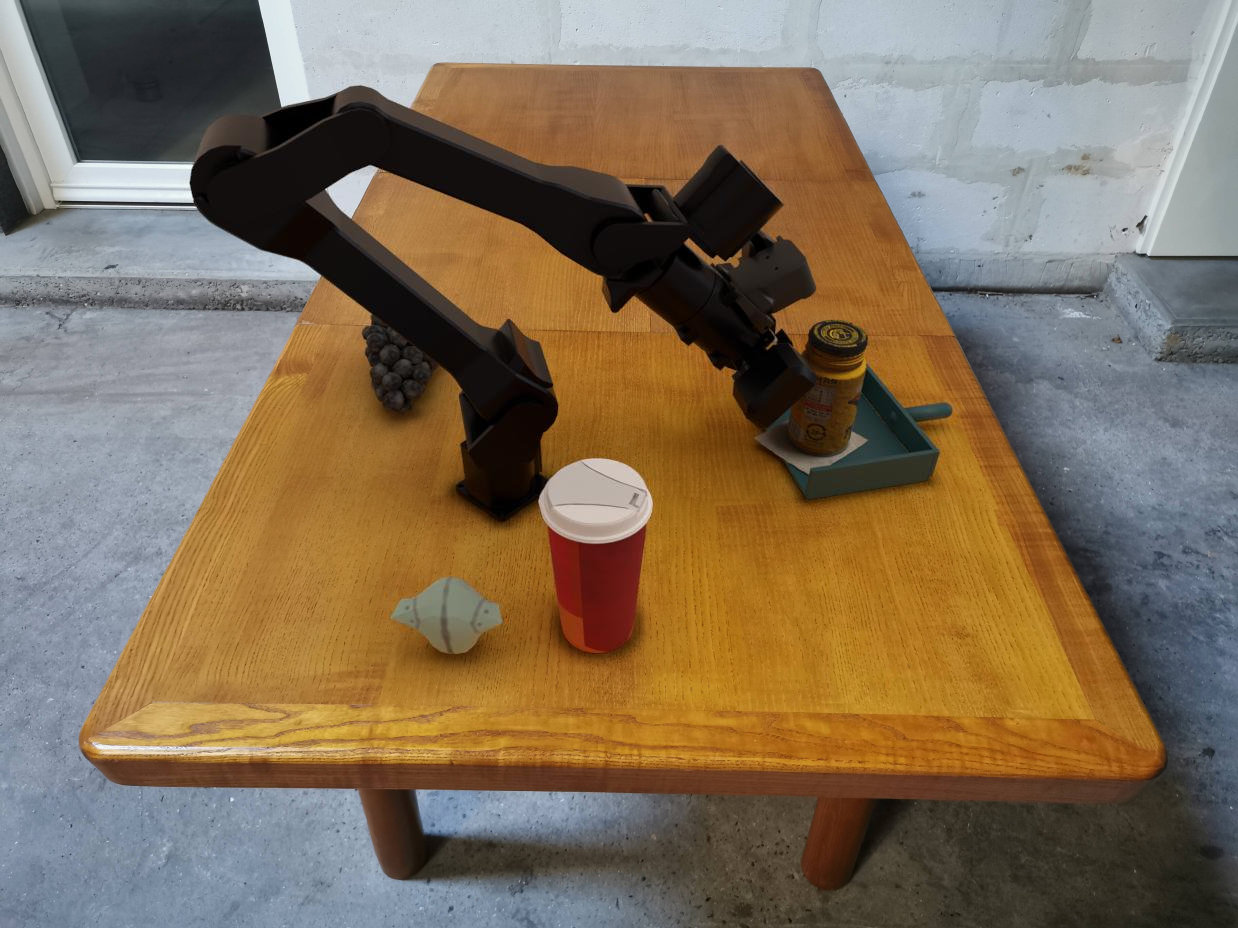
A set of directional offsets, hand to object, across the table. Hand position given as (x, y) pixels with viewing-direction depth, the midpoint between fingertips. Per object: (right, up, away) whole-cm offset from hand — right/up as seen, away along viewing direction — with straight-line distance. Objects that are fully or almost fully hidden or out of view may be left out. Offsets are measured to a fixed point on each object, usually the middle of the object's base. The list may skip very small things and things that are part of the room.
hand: (799, 386), depth 81 cm
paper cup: (-18, -20, -12) cm, 30 cm away
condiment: (+2, -5, +5) cm, 7 cm away
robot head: (-29, -21, -14) cm, 39 cm away
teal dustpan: (+8, -4, +6) cm, 11 cm away
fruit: (-39, +1, +12) cm, 41 cm away
